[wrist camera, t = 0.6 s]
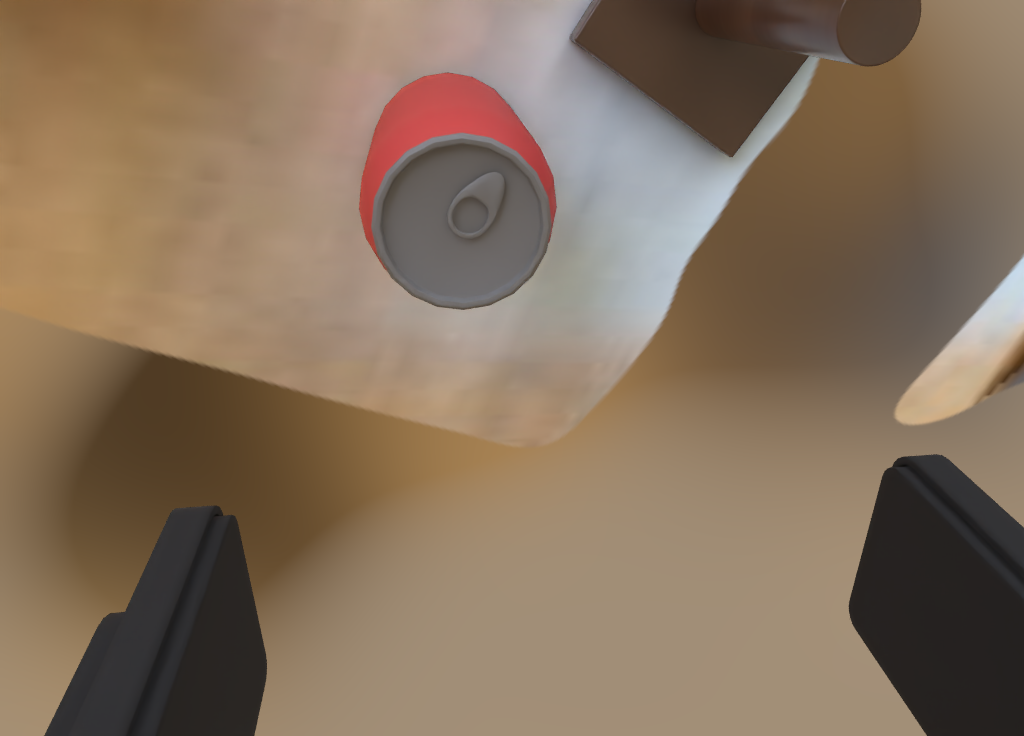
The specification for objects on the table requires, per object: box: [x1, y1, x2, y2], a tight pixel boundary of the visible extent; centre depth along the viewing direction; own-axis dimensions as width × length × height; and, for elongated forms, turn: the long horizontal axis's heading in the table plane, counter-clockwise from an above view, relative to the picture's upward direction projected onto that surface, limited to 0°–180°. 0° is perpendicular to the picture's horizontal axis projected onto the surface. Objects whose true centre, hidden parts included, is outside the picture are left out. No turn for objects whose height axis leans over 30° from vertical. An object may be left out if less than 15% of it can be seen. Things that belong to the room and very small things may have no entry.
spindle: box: [570, 0, 921, 157], centre depth 27 cm, size 9×9×13 cm
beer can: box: [359, 73, 557, 310], centre depth 29 cm, size 7×7×12 cm
